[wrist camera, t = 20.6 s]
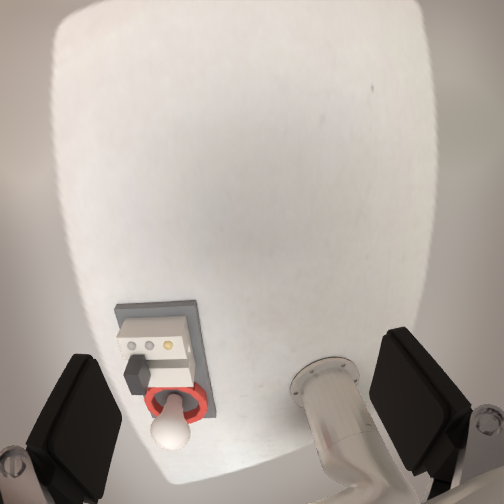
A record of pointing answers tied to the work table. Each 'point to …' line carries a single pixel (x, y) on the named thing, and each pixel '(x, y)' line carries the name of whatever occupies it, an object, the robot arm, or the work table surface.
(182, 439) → the lightbulb
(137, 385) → the block
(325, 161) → the work table surface
